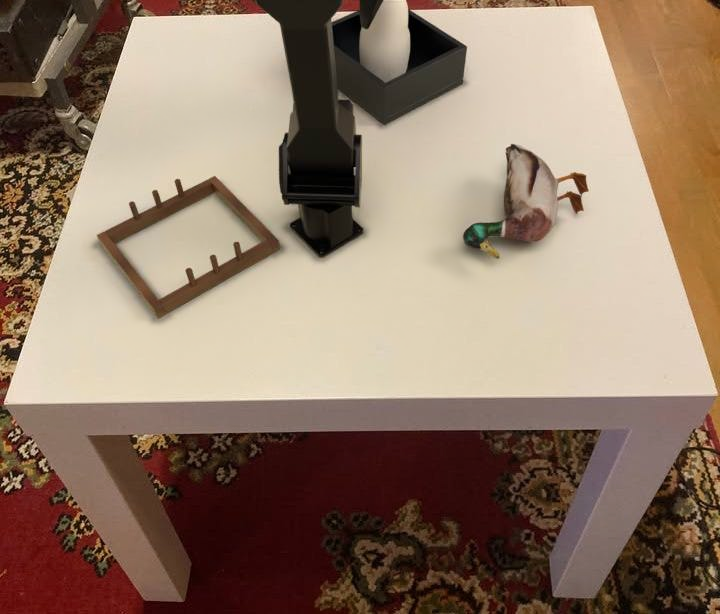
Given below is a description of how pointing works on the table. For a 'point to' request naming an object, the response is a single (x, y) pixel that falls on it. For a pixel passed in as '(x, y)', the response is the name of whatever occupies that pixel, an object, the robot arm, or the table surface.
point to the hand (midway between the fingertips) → (334, 40)
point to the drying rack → (194, 285)
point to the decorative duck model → (526, 201)
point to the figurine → (386, 41)
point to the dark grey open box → (410, 90)
